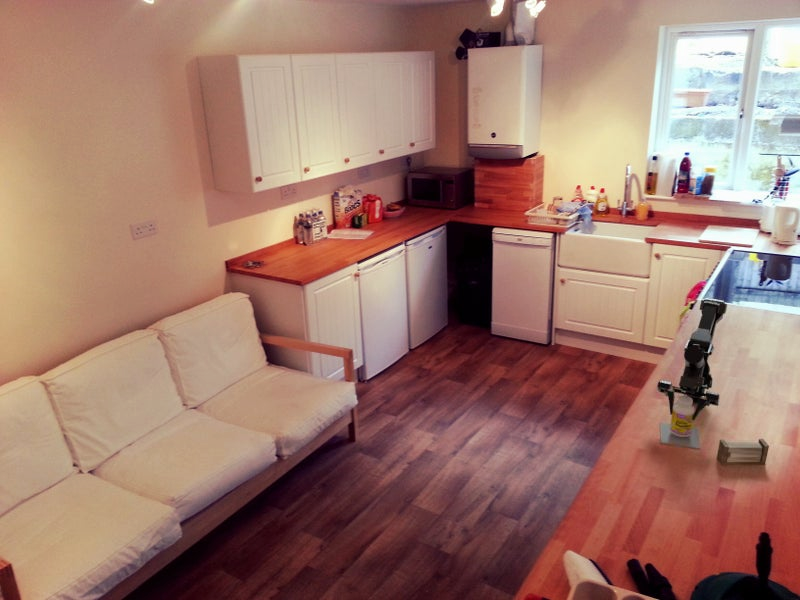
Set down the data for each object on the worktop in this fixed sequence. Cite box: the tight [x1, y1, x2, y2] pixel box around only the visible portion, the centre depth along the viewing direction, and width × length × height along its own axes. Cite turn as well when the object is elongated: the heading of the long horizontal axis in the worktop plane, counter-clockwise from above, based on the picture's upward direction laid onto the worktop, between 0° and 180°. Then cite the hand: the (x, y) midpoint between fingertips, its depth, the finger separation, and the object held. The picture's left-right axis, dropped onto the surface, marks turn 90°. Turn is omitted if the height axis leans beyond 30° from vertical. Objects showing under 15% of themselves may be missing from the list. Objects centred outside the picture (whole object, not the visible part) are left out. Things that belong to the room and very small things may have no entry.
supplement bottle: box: [670, 395, 696, 437], centre depth 215 cm, size 7×7×13 cm
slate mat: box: [659, 422, 701, 450], centre depth 218 cm, size 12×12×1 cm
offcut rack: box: [716, 438, 770, 467], centre depth 204 cm, size 4×13×7 cm, turn 88°
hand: (681, 417), depth 214 cm, fingers closed on supplement bottle, 7 cm apart
